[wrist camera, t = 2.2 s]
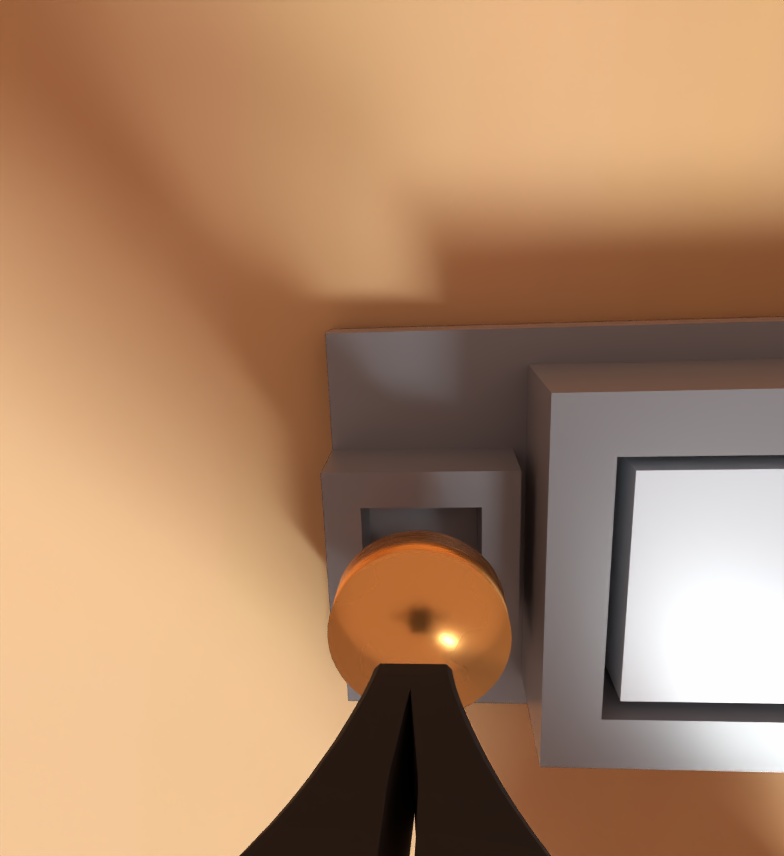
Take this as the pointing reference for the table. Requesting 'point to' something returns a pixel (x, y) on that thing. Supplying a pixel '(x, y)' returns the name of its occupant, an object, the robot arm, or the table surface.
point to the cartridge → (697, 579)
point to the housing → (552, 495)
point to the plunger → (421, 612)
